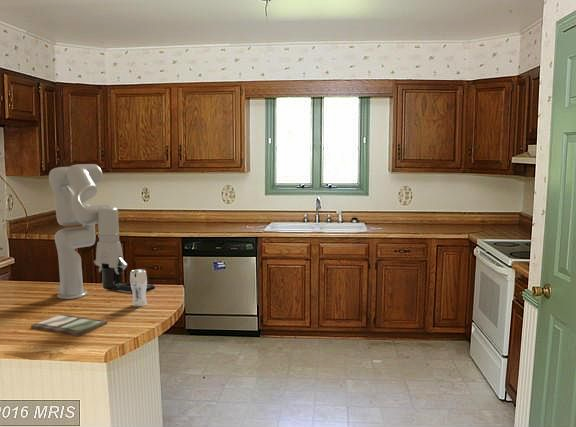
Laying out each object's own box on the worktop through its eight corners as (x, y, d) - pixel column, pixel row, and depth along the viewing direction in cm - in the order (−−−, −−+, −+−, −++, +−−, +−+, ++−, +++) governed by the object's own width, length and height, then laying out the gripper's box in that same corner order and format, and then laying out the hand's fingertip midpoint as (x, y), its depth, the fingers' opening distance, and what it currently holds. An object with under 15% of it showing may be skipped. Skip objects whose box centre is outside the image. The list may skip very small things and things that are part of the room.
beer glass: (149, 301, 215) (148, 268, 214) (145, 306, 209) (144, 272, 207) (134, 302, 215) (132, 269, 213) (129, 307, 208) (127, 273, 206)
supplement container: (112, 290, 190) (110, 264, 189) (98, 288, 193) (97, 263, 192) (124, 286, 197) (122, 261, 195) (110, 284, 199) (109, 259, 198)
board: (31, 327, 185) (30, 324, 185) (61, 316, 198) (60, 313, 197) (79, 336, 176) (78, 332, 175) (107, 323, 188) (106, 320, 188)
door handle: (130, 278, 249) (106, 284, 235) (161, 282, 241) (138, 288, 226) (130, 284, 250) (106, 290, 235) (161, 289, 241) (138, 295, 226)
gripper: (85, 238, 192) (87, 282, 194) (119, 241, 185) (121, 287, 188) (99, 235, 199) (101, 277, 201) (133, 238, 192) (134, 282, 195)
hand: (111, 281), depth 195 cm, fingers closed on supplement container, 6 cm apart
